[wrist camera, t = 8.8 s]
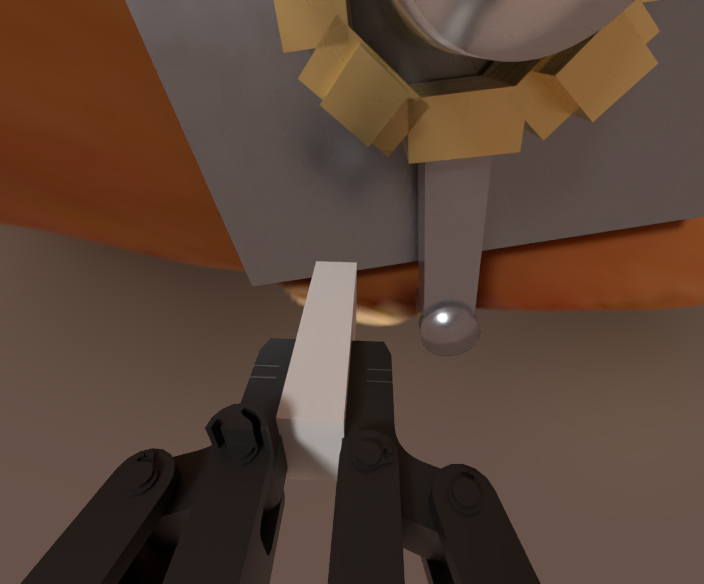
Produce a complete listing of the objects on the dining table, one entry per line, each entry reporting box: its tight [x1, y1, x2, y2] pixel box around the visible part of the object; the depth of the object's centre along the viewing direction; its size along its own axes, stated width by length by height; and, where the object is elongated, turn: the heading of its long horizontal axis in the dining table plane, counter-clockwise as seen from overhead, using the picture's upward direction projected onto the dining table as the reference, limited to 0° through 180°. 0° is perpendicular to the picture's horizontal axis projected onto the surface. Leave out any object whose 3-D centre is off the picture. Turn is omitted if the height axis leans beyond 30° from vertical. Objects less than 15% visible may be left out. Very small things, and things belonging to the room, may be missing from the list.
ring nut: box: [274, 0, 660, 356], centre depth 13 cm, size 21×11×6 cm, turn 7°
